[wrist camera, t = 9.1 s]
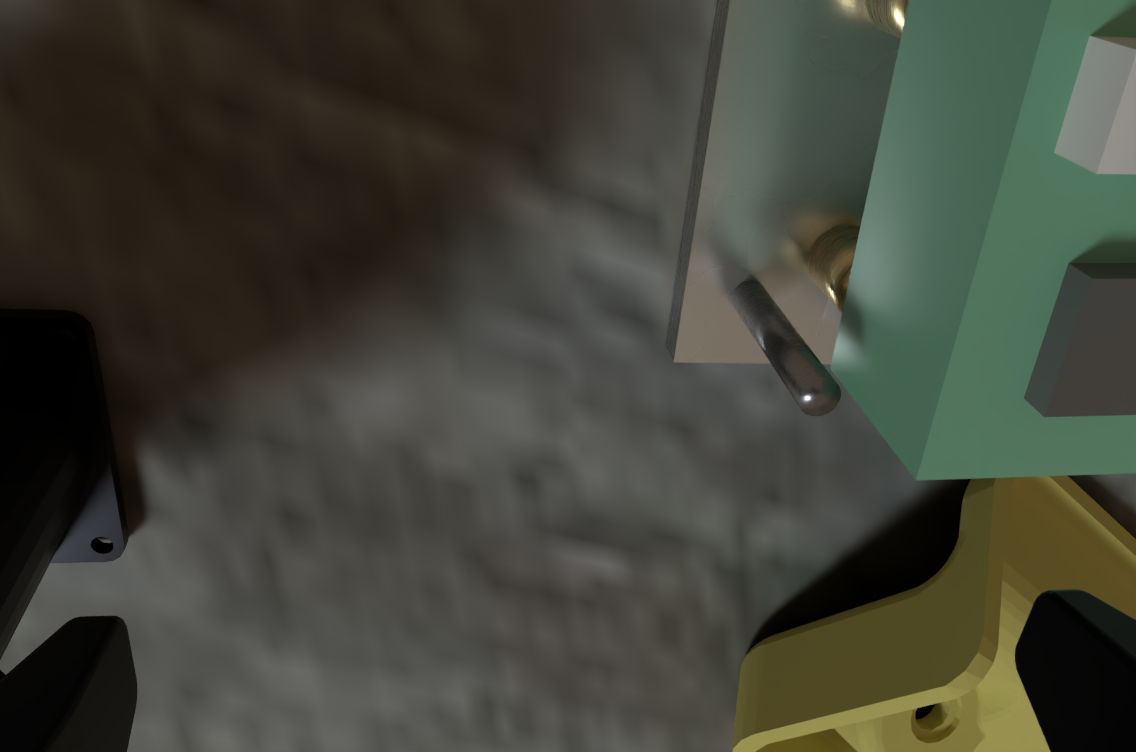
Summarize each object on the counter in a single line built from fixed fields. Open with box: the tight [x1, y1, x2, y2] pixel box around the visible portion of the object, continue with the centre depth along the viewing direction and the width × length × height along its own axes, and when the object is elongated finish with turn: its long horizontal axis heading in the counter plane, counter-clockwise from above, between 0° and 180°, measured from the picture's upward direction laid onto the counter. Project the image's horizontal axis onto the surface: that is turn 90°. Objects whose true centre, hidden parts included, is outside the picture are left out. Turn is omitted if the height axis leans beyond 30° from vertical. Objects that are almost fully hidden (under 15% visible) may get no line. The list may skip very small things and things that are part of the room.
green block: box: [830, 0, 1136, 480], centre depth 16 cm, size 8×5×5 cm, turn 177°
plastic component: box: [732, 476, 1136, 752], centre depth 29 cm, size 20×7×10 cm
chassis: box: [666, 0, 909, 416], centre depth 19 cm, size 11×10×5 cm
